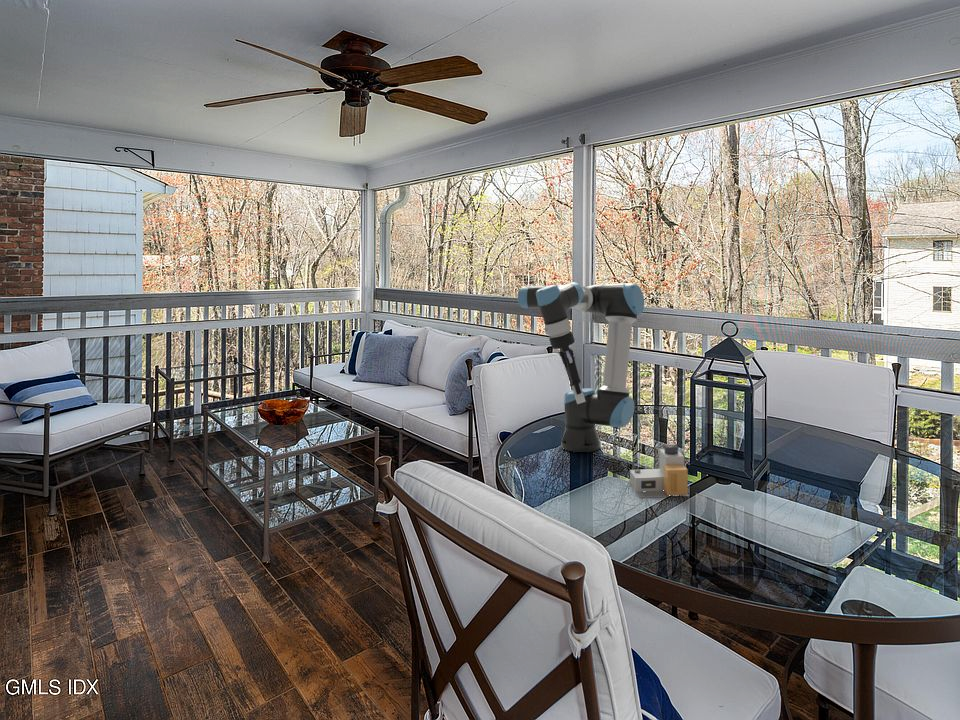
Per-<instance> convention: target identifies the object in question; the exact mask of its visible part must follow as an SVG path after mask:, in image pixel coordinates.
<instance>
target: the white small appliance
mask: <svg viewBox="0 0 960 720" xmlns="http://www.w3.org/2000/svg"><path fill="white" fill-rule="evenodd" d="M658 449H659V450H658V456H659V463H658V468H648V469H647V468H645V469H644V468H643V469H642V468H641V469H637V468H636V469H629V485H630V486H631V487H632V489H633V490H634V492H635V494H636V495H637V497H638V498H639V499H653V498H655V499H657V498H669V497H668V495H667V494H666V493H665V491H663V465H682V464H683V465H684V456H683V455H682V454H681V453H680V452H679V451H678V450H679V446H678V445H677V444H676V445H675V444H665V445H664V448H663V449H660V448H658ZM643 491H646V492H643Z"/></svg>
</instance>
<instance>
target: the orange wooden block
mask: <svg viewBox="0 0 960 720" xmlns="http://www.w3.org/2000/svg"><path fill="white" fill-rule="evenodd" d="M688 470H689V469H688V468H687V467H686V466H684V465H683V464H682V465H663V490H664V491H665V493H666V494H667V495H668V496H669V495H689V493H688V489H689V488H688V485H689V484H688V483H689V482H688V481H689V480H688V478H689V477H688V473H689V471H688Z"/></svg>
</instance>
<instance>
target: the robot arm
mask: <svg viewBox="0 0 960 720" xmlns="http://www.w3.org/2000/svg"><path fill="white" fill-rule="evenodd" d="M516 296H517V299H516V300H517V304H518V305H519V307H521V308H524V309H539V310H540V314H541V316H542V320H543V322H544V326H545V327H544V328H543V329H544V331H546V332H547V335H548V337H549V342H550V346H551V348H552V349H553V350H560V351H558V355H559V357H560V358H561V361H562V364H563V365H564V369H565V372H566V375H567V378H568V381H569V382H570V383H569V387H571V388H572V389H571V390H568V391H566V393H565V394H564V401H563V402H564V403H563V404H564V406H563V407H564V424H565V425H564V427H565V428H564V432H563V435H562V438H561V441H560V443H561V445H560V446H562V447H563V448H564V449H566V450H568V451H567V452H569V451H573V452H572V453H575V452H587V453H592V452H596V451H598V450H600V448H601V440H600V437H599V435H598V432H597V429H596V425H600V426H605V427H611V428H624V427H626V426H628V425H629V424H630V422H631V420H632V419H633V416H634V412H635V401H634V399H633V398H632V397H631V396H630V390H628V389H627V381H628V379H627V378H628V370H629V369H628V368H629V359H630V358H629V357H630V348H631V338H632V326H633V324H634V323H635V322H636V321H637V320H638V319H637V318H638V316H639V315H641V314H643V312H644V309H645V297H644V293H643V291H642V289H641V287H640V286H639V285H638V284H636V283H630V282H624V283H623V282H622V283H601V284H594V285H586V286H584V285H581V284H579V283H578V282H575V281H572V282H567V283H565V284H560V285H559V284H551V285H527V286H522V287H520V288H519V289H518V292H517V295H516ZM569 309H574V310H576V311H578V312H584V313H591V314H592V313H593V314H596V315H605V316H604V317H605V320H606V321H607V322H608V327H607V328H608V329H607V337H606V339H607V340H606V347H605V356H604V357H605V358H604V359H605V360H604V367H603V368H604V369H603V380H602V384H601V386H600V387H599V388H598V389H597V393H596V391H595V389H594V388H590V387H589V388H588V387H586V388H582V385H581V379H580V376H579V371H578V369H577V365H576V360H575V359H576V358H575V356H574V351H573V349H572V348H570V345H573V344H574V343H575V342H576V341H575V337H574V334H573V332H572V326H571V322H570V321H569V317H568V315H567V310H569ZM562 447H561V448H562ZM566 450H565V451H566Z"/></svg>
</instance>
